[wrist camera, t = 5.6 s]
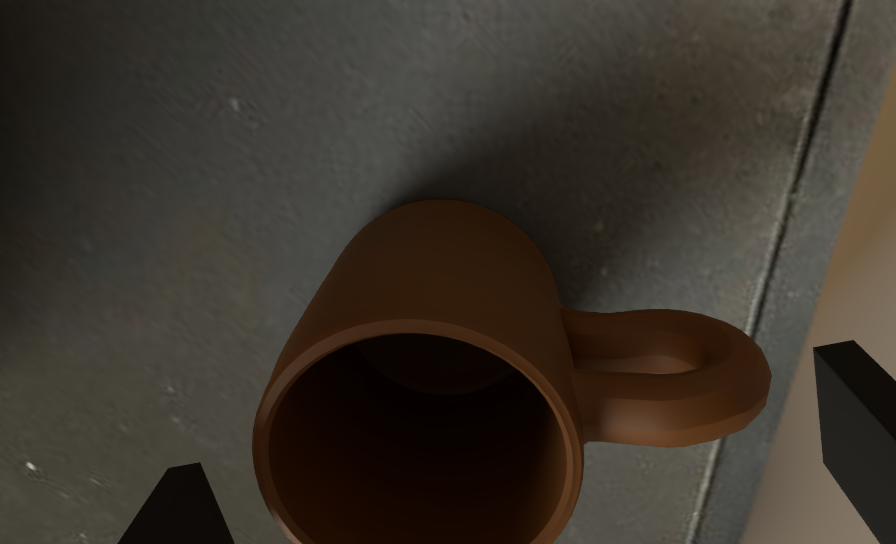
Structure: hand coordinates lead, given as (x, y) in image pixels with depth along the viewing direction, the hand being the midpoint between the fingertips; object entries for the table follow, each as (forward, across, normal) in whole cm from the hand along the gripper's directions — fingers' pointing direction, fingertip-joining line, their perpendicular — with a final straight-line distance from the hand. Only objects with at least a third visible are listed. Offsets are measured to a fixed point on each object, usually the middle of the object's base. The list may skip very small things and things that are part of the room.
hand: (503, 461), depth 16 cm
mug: (+10, 0, 0) cm, 10 cm away
